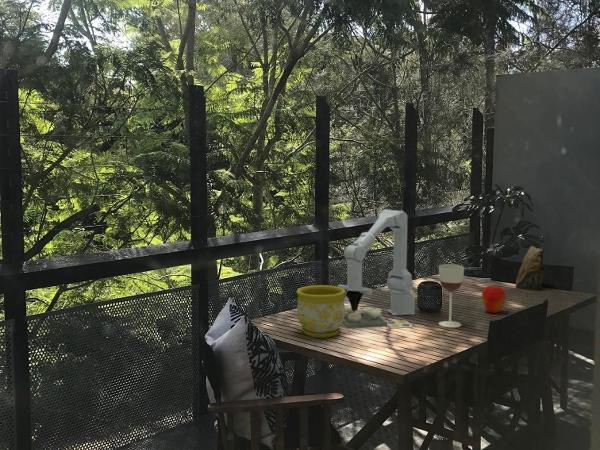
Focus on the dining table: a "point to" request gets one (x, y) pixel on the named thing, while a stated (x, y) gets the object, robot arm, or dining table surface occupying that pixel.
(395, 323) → the card
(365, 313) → the button
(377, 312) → the button
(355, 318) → the button
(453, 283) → the wineglass
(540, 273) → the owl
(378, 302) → the dining table surface
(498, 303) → the apple
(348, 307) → the button
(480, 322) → the dining table surface
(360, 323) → the button board
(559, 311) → the dining table surface
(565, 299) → the dining table surface
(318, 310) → the flowerpot
